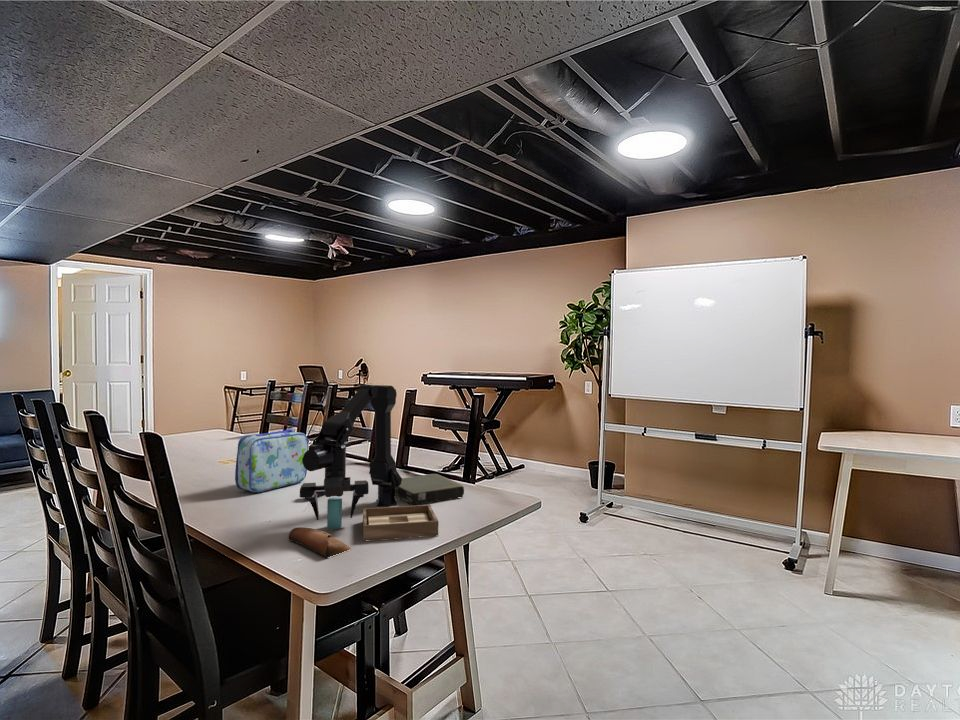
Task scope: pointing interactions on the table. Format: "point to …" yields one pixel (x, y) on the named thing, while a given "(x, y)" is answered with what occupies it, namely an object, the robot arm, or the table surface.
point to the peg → (334, 513)
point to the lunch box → (270, 460)
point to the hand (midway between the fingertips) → (334, 518)
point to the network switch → (428, 489)
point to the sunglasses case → (317, 541)
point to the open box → (399, 522)
